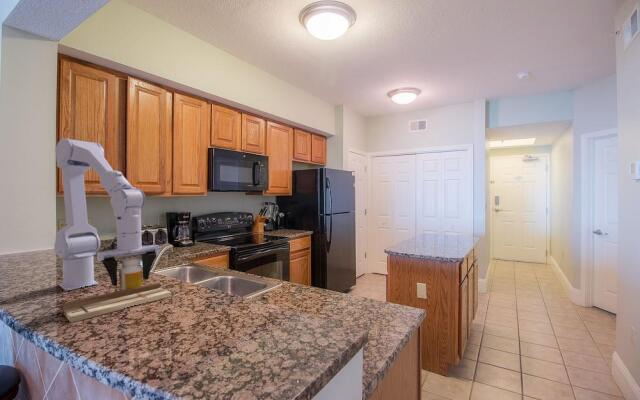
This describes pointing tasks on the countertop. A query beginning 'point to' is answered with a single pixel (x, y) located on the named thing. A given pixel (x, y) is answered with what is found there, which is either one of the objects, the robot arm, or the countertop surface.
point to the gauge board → (113, 301)
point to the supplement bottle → (130, 274)
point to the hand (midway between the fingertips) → (130, 281)
